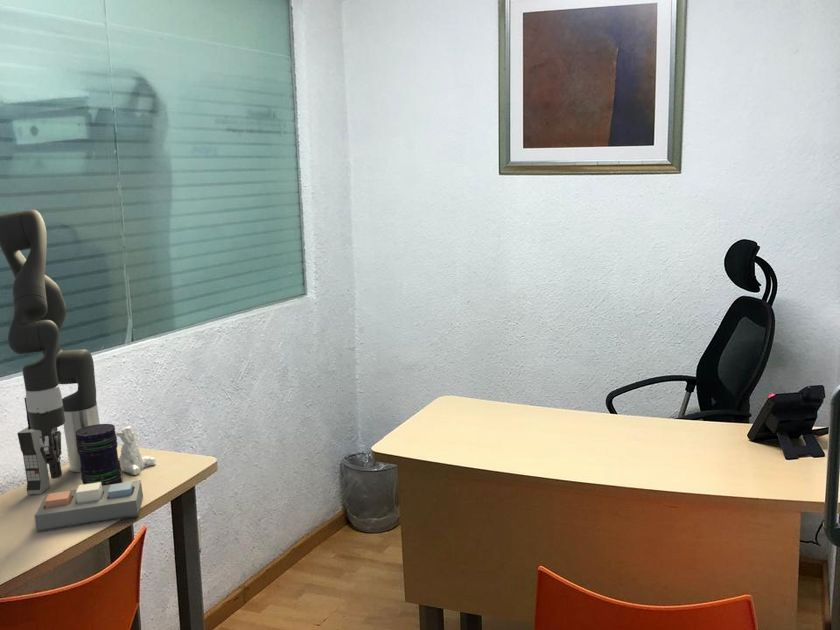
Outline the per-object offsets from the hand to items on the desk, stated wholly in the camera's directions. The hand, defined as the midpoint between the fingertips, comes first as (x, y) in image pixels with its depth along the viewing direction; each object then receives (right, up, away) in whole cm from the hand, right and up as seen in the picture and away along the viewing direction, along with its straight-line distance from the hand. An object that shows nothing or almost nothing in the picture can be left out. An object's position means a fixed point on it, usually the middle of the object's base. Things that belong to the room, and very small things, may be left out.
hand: (56, 477), depth 198 cm
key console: (+7, -9, +3) cm, 12 cm away
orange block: (0, -8, +1) cm, 8 cm away
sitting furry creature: (+7, -4, +32) cm, 33 cm away
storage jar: (+2, -6, +22) cm, 23 cm away
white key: (+7, -6, +3) cm, 10 cm away
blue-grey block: (+14, -7, +4) cm, 16 cm away
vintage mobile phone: (-13, -8, +21) cm, 26 cm away
